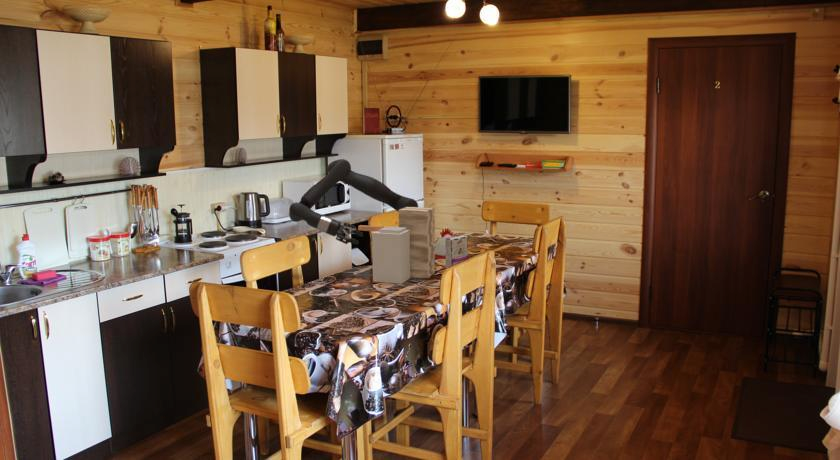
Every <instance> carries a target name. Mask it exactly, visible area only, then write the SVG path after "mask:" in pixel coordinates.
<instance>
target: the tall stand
mask: <svg viewBox="0 0 840 460" xmlns="http://www.w3.org/2000/svg"><path fill="white" fill-rule="evenodd" d="M398 227H406V230H410V278H418V279H429V278H430V277H431V276H433V275H434V274H436V273H435V272H436V271H435V270H436V264H435V263H436V261H435V260H436V257H435V246H436V242H435V208H434V207H421V206H418V207H405V208H403V209H400V210H399V212H398Z"/></svg>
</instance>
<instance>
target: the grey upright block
mask: <svg viewBox="0 0 840 460" xmlns="http://www.w3.org/2000/svg"><path fill="white" fill-rule="evenodd" d="M371 247H372V250H371V251H372V252H371V253H372V282H374V283H387V284H397V285H402V284H403V283H405V282H406V281H408V280H410V279H411V277H410V230H406V231H404V232H402V233H400V234H395V233H379V231H372V232H371Z"/></svg>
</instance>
